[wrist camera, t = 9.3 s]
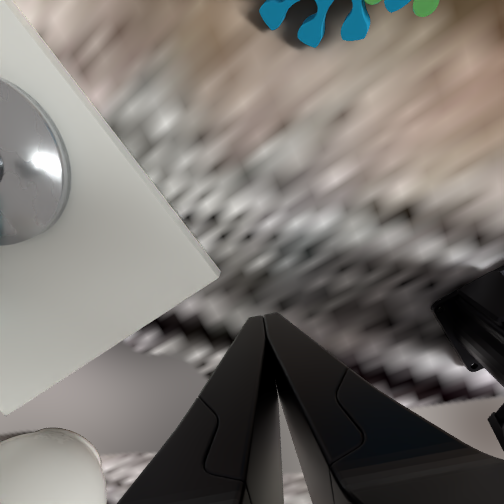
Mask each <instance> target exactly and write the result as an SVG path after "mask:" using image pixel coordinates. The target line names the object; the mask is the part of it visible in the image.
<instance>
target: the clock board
mask: <svg viewBox="0 0 504 504" xmlns="http://www.w3.org/2000/svg"><path fill="white" fill-rule="evenodd" d="M0 77H1V78H3V79H6V80H8V81H9V82H11V83H13V84H15V85H17V86H18V87H20V88H21V89H22V90H24V91H25V92H27V93H28V94H29V95H30V96H31V97H32V98H34V99H35V100H36V101H37V102H38V103H39V104H40V105H41V106H42V108H43V109H44V110H45V111H46V112H47V113H48V115H49V116H50V118H51V119H52V120H53V122H54V123H55V125H56V127H57V129H58V130H59V132H60V134H61V136H62V139H63V141H64V143H65V146H66V149H67V152H68V155H69V161H70V166H71V190H70V195H69V199H68V202H67V205H66V207H65V209H64V211H63V213H62V215H61V216H60V218H59V219H58V220H57V222H56V223H55V224H54V225H53V226H52V227H51V228H49V229H48V230H47V231H45V232H44V233H42V234H40V235H38V236H36V237H34V238H31V239H28V240H26V241H23V242H19V243H16V244H12V245H5V246H0V411H1V412H2V413H3V414H4V415H5V416H7V415H9V414H10V413H12V412H13V411H15V410H17V409H18V408H20V407H21V406H23V405H24V404H26V403H27V402H29V401H30V400H32V399H33V398H35V397H36V396H38V395H39V394H41V393H43V392H44V391H46V390H47V389H49V388H50V387H52V386H53V385H54V384H56V383H58V382H60V381H61V380H63V379H64V378H66V377H67V376H69V375H70V374H72V373H73V372H75V371H76V370H78V369H79V368H81V367H82V366H84V365H85V364H87V363H89V362H90V361H92V360H93V359H95V358H96V357H98V356H99V355H101V354H102V353H104V352H106V351H107V350H109V349H110V348H112V347H113V346H115V345H116V344H118V343H119V342H121V341H122V340H124V339H126V338H127V337H129V336H130V335H132V334H133V333H135V332H136V331H138V330H139V329H141V328H142V327H144V326H146V325H147V324H149V323H150V322H152V321H153V320H155V319H156V318H158V317H159V316H161V315H162V314H164V313H166V312H167V311H169V310H170V309H172V308H173V307H175V306H176V305H178V304H179V303H181V302H182V301H184V300H185V299H187V298H189V297H190V296H192V295H193V294H195V293H196V292H198V291H199V290H201V289H202V288H204V287H205V286H207V285H209V284H210V283H212V282H213V281H215V280H216V279H218V278H219V276H220V273H221V271H220V269H219V268H218V267H217V265H216V264H215V263H214V262H213V260H212V259H211V258H210V256H209V255H208V254H207V252H206V251H205V250H204V249H203V247H202V246H201V245H200V243H199V242H198V241H197V239H196V238H195V237H194V236H193V234H192V233H191V232H190V230H189V229H188V228H187V226H186V225H185V224H184V222H183V221H182V220H181V219H180V217H179V216H178V215H177V213H176V212H175V211H174V209H173V208H172V207H171V206H170V204H169V203H168V202H167V200H166V199H165V198H164V196H163V195H162V194H161V193H160V191H159V190H158V189H157V187H156V186H155V185H154V183H153V182H152V181H151V180H150V178H149V177H148V176H147V174H146V173H145V172H144V170H143V169H142V168H141V166H140V165H139V164H138V163H137V161H136V160H135V159H134V157H133V156H132V155H131V153H130V152H129V151H128V150H127V148H126V147H125V146H124V144H123V143H122V142H121V140H120V139H119V138H118V137H117V135H116V134H115V133H114V131H113V130H112V129H111V127H110V126H109V125H108V123H107V122H106V121H105V120H104V118H103V117H102V116H101V114H100V113H99V112H98V110H97V109H96V108H95V107H94V105H93V104H92V103H91V101H90V100H89V99H88V97H87V96H86V95H85V94H84V92H83V91H82V90H81V88H80V87H79V86H78V84H77V83H76V82H75V81H74V79H73V78H72V77H71V75H70V74H69V73H68V71H67V70H66V69H65V67H64V66H63V65H62V64H61V62H60V61H59V60H58V58H57V57H56V56H55V54H54V53H53V52H52V51H51V49H50V48H49V47H48V45H47V44H46V43H45V41H44V40H43V39H42V38H41V36H40V35H39V34H38V32H37V31H36V30H35V28H34V27H33V26H32V24H31V23H30V22H29V21H28V19H27V18H26V17H25V15H24V14H23V13H22V11H21V10H20V9H19V8H18V6H17V5H16V4H15V2H14V1H13V0H0Z"/></svg>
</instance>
